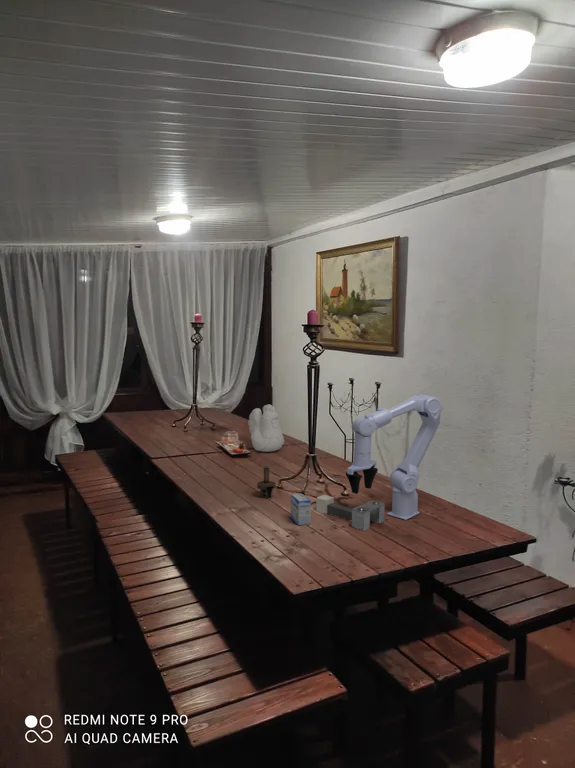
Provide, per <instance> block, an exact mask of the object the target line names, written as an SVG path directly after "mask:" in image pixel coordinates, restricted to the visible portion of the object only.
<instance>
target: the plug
mask: <svg viewBox="0 0 575 768" xmlns="http://www.w3.org/2000/svg"><path fill="white" fill-rule="evenodd" d="M315 505H316V506H315V508H316V512H318V511H319V512H318V513H321V512H322V514H325V513H328V514H327V515H330V514H332V515H331V516H333V515H336V516H335V517H337V516H339V517H338V518H340V517H342V518H341V519H343V518H345V519H344V520H346V519H348V520H347V521H349V520H352V509H353V508H351V507H348V506H345V505H342V504H338V503H335V497H334V496H329V495H326V494H322V495H320V496H317V497H316V504H315Z"/></svg>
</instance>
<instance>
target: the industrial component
mask: <svg viewBox="0 0 575 768" xmlns="http://www.w3.org/2000/svg"><path fill="white" fill-rule="evenodd" d="M276 484H277V483H276V482H275V481H272V480H270V466H269V465H264V466H263V480H261V481H258V482H256V485H257V486H256V488H257V489H258V490H260V493H259V494H260V498H262V499H268V498H270V497H271V498H270V499H272V498H273V491H274V489H276V487H277V486H276Z"/></svg>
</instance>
